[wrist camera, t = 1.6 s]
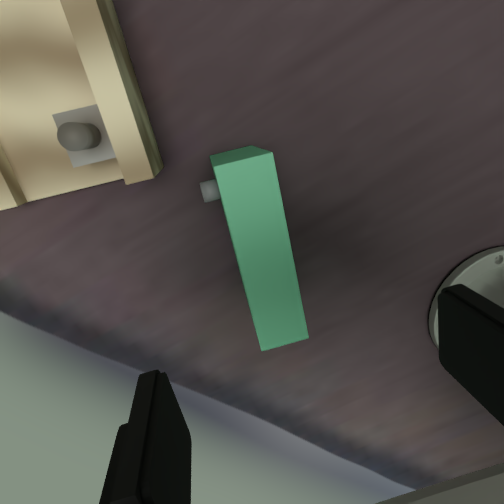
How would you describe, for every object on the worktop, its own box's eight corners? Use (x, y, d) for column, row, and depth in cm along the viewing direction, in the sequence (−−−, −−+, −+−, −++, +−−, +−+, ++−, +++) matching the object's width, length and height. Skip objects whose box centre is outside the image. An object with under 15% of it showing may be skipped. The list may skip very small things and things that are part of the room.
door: (281, 285, 30) (308, 337, 22) (234, 298, 30) (246, 355, 22) (251, 145, 26) (272, 152, 18) (196, 158, 25) (194, 171, 18)
